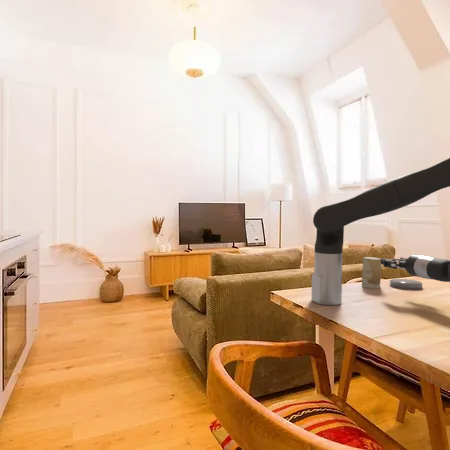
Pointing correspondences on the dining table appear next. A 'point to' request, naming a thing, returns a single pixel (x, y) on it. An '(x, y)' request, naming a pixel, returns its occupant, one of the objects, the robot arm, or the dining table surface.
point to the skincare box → (371, 272)
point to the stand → (406, 284)
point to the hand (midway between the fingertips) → (391, 260)
